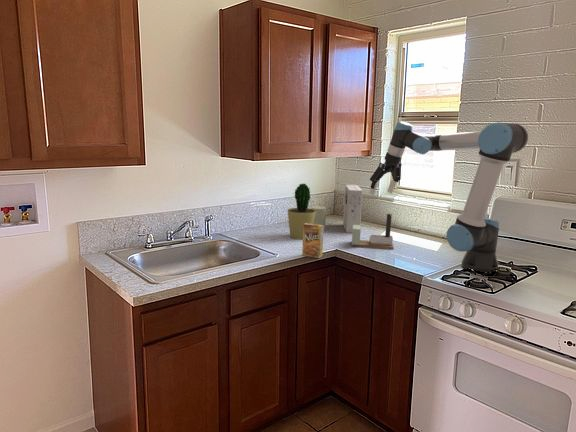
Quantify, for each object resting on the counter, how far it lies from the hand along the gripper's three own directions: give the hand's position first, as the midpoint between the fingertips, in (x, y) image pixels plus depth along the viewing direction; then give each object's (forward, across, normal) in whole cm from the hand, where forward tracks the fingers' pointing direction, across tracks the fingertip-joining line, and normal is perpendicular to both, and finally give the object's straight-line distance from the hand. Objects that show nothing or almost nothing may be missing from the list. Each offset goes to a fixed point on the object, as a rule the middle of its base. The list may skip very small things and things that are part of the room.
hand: (380, 193), depth 227 cm
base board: (+27, 0, +6) cm, 28 cm away
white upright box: (+38, -17, -25) cm, 49 cm away
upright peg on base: (+25, -3, +8) cm, 26 cm away
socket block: (+28, +6, 0) cm, 29 cm away
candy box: (+28, +39, +4) cm, 48 cm away
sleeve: (+25, -3, +8) cm, 27 cm away
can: (+43, -5, -40) cm, 59 cm away
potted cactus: (+38, +21, -26) cm, 50 cm away
